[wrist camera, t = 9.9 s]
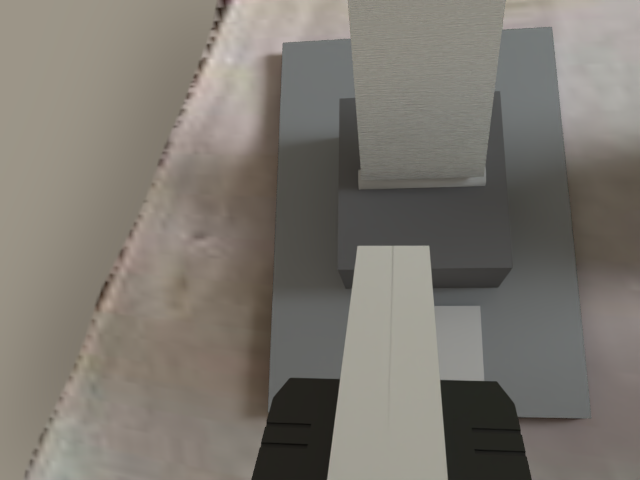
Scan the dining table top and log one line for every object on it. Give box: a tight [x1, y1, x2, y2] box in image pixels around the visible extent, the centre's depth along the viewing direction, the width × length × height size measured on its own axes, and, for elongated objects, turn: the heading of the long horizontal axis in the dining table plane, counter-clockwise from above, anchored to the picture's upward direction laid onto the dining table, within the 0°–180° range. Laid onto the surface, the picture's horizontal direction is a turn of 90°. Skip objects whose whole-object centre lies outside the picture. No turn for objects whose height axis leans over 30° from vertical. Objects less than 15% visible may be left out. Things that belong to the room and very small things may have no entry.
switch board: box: [268, 27, 591, 418], centre depth 32 cm, size 22×16×6 cm
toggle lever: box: [348, 0, 506, 180], centre depth 24 cm, size 4×6×14 cm, turn 88°
